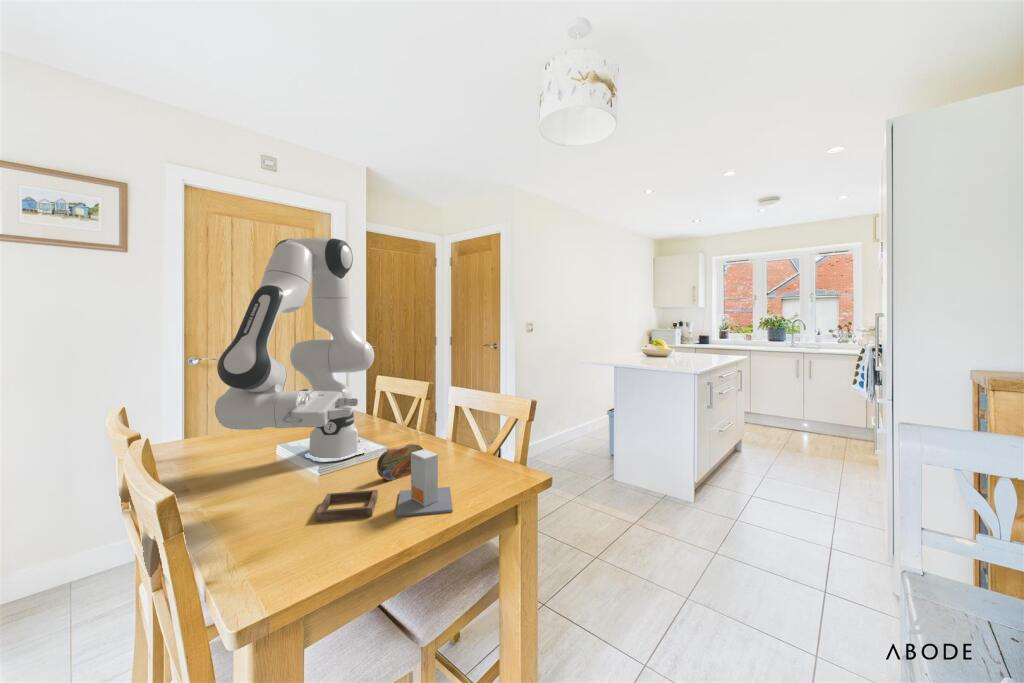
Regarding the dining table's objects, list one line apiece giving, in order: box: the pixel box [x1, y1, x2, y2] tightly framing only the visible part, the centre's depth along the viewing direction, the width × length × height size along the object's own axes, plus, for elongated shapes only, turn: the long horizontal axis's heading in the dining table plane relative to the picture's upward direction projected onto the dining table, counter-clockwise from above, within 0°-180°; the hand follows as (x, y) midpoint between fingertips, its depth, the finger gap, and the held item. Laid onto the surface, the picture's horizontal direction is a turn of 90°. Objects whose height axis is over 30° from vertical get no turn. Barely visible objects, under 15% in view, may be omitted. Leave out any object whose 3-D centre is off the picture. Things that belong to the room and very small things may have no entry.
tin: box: [376, 443, 424, 482], centre depth 115 cm, size 15×3×8 cm, turn 139°
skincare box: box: [410, 448, 439, 506], centre depth 98 cm, size 6×4×12 cm
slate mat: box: [395, 486, 454, 518], centre depth 98 cm, size 13×13×1 cm
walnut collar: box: [315, 489, 379, 522], centre depth 94 cm, size 10×12×2 cm
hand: (354, 406), depth 98 cm, fingers open, 8 cm apart
